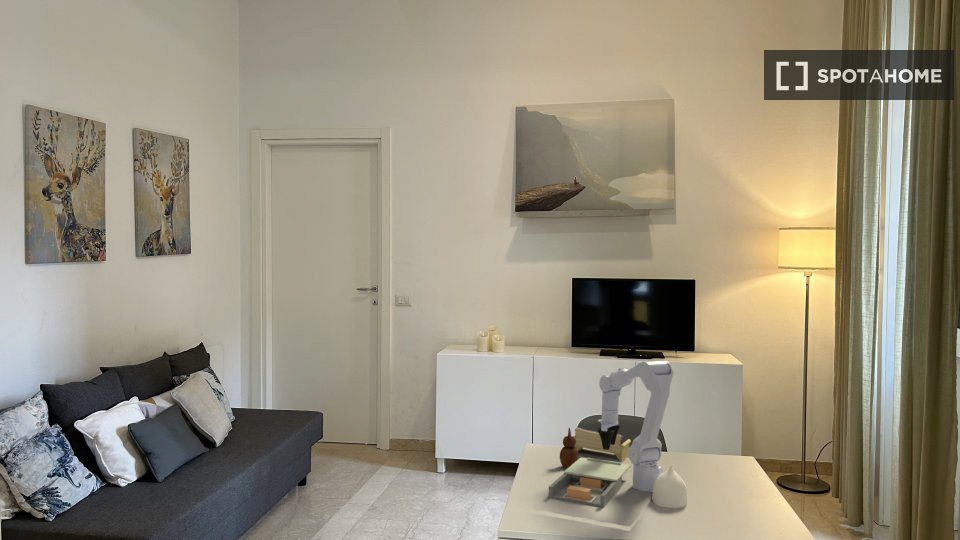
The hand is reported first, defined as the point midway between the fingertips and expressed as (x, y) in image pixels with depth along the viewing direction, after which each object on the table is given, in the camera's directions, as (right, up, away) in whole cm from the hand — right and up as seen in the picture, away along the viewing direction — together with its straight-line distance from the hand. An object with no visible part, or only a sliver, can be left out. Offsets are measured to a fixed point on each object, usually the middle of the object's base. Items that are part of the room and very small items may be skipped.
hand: (608, 446), depth 272 cm
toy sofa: (+1, -9, +23) cm, 25 cm away
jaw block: (-15, -10, -30) cm, 35 cm away
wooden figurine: (-14, -9, +6) cm, 17 cm away
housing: (-12, -10, -24) cm, 29 cm away
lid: (-6, -5, -12) cm, 14 cm away
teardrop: (+15, -11, -28) cm, 34 cm away
